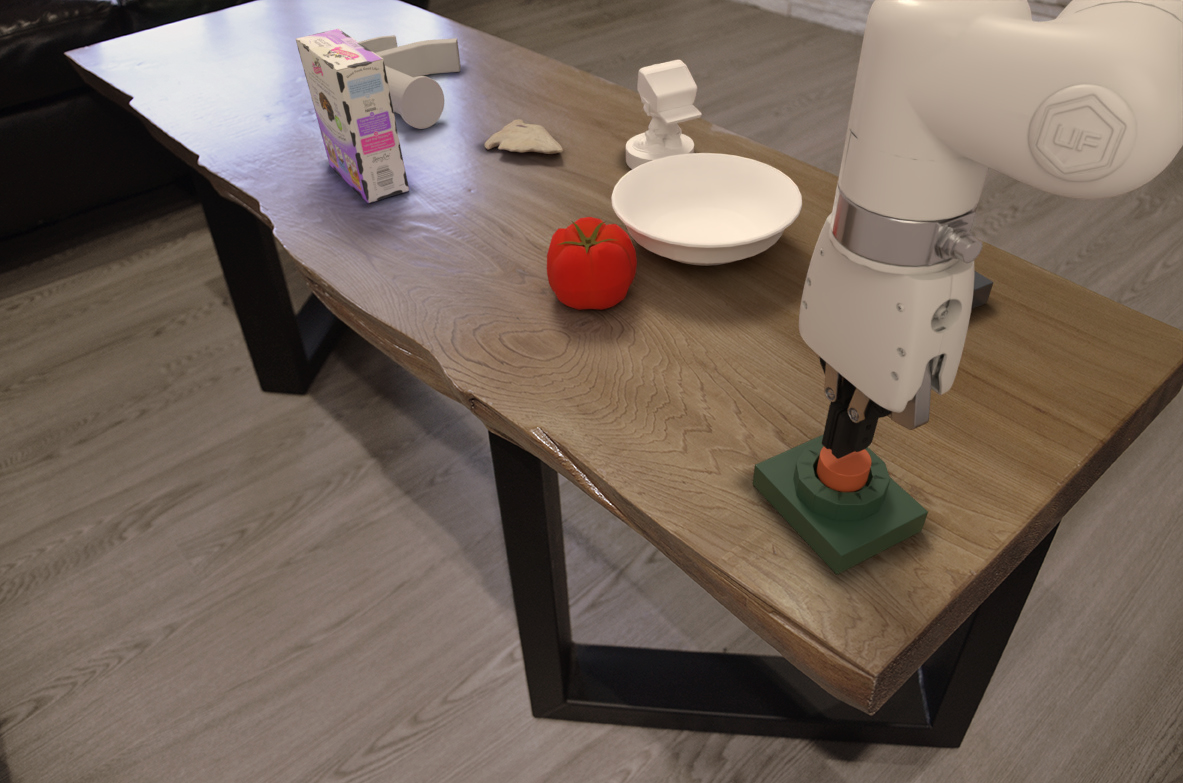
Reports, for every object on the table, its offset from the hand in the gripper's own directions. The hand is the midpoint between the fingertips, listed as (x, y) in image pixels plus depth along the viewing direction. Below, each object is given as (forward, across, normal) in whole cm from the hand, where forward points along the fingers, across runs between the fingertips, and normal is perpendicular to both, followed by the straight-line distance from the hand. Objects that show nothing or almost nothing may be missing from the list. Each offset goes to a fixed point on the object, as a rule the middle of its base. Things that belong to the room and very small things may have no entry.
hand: (845, 444), depth 60 cm
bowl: (+7, +36, -12) cm, 38 cm away
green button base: (+7, 0, 0) cm, 7 cm away
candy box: (+7, +72, +15) cm, 74 cm away
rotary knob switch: (+7, +19, -25) cm, 32 cm away
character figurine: (+7, +56, -19) cm, 59 cm away
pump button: (+3, 0, 0) cm, 3 cm away
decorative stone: (+7, +68, -6) cm, 68 cm away
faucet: (+7, +96, 0) cm, 96 cm away
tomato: (+7, +34, +3) cm, 35 cm away
